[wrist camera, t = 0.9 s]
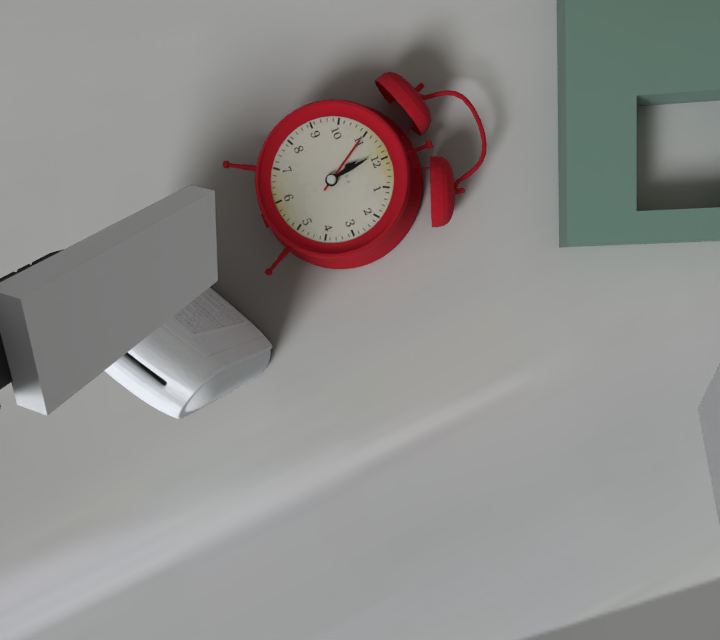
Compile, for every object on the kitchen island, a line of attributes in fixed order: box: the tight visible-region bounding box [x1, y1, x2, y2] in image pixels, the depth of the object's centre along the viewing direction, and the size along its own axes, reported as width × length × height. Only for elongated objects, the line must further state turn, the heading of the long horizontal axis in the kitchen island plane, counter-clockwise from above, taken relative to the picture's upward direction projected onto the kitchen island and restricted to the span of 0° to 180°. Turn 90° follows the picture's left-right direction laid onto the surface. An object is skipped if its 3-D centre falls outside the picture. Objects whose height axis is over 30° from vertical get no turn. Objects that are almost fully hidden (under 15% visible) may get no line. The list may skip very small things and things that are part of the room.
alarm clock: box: [223, 72, 486, 276], centre depth 37 cm, size 10×6×15 cm
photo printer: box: [104, 287, 272, 419], centre depth 36 cm, size 10×4×12 cm, turn 51°
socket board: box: [557, 0, 720, 247], centre depth 35 cm, size 22×14×2 cm, turn 2°
